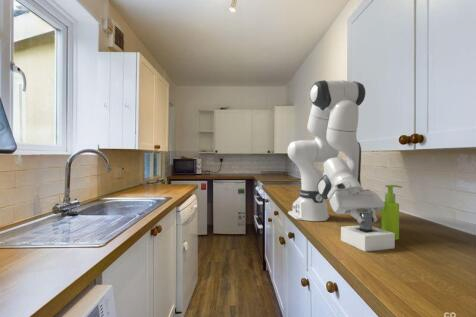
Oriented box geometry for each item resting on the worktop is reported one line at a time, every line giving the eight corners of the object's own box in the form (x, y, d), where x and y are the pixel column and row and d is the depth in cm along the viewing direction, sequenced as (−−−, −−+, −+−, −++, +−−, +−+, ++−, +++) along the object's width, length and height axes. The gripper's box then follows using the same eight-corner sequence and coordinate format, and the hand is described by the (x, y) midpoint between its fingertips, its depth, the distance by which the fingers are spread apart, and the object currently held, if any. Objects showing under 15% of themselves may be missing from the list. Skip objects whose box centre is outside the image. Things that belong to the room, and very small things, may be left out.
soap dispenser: (404, 240, 98) (405, 186, 98) (385, 239, 99) (385, 185, 99) (397, 235, 104) (397, 184, 104) (378, 234, 105) (379, 184, 105)
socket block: (340, 240, 98) (341, 226, 98) (368, 237, 101) (368, 224, 101) (364, 251, 86) (364, 236, 86) (394, 248, 90) (394, 233, 90)
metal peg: (357, 238, 95) (356, 212, 96) (366, 237, 96) (366, 212, 97) (365, 241, 91) (364, 214, 92) (375, 240, 92) (374, 214, 93)
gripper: (367, 194, 107) (387, 224, 98) (323, 196, 102) (339, 228, 92) (376, 184, 103) (397, 214, 94) (330, 185, 97) (348, 218, 88)
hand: (368, 221), depth 93 cm, fingers closed on metal peg, 4 cm apart
